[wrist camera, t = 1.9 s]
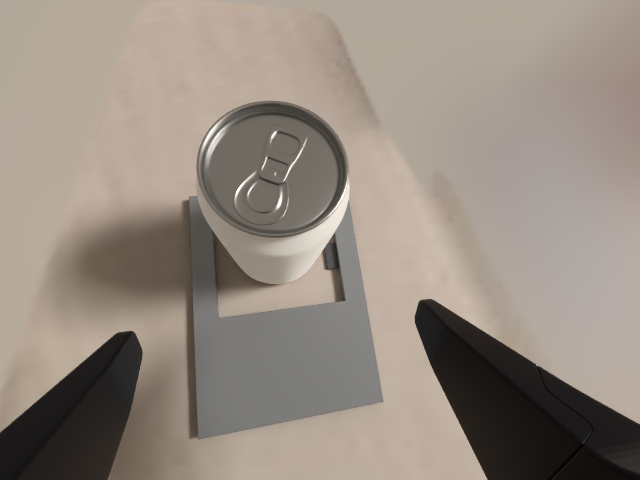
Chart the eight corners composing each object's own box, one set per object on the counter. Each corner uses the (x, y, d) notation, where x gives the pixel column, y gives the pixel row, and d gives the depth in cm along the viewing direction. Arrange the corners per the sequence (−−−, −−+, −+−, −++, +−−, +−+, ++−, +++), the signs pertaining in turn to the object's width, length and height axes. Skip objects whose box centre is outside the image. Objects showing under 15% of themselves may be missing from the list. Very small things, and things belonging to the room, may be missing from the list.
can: (218, 268, 21) (150, 211, 10) (251, 191, 23) (226, 68, 12) (302, 297, 22) (331, 275, 10) (329, 219, 24) (378, 125, 12)
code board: (380, 399, 21) (383, 401, 20) (200, 435, 19) (198, 439, 18) (344, 188, 24) (346, 185, 24) (191, 199, 22) (188, 196, 22)
